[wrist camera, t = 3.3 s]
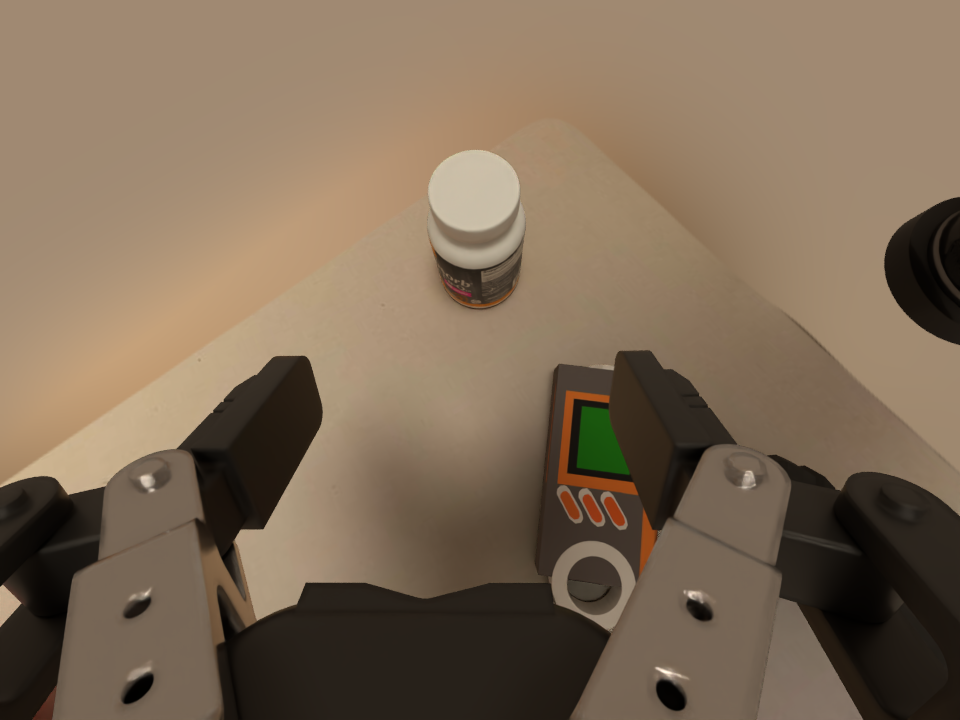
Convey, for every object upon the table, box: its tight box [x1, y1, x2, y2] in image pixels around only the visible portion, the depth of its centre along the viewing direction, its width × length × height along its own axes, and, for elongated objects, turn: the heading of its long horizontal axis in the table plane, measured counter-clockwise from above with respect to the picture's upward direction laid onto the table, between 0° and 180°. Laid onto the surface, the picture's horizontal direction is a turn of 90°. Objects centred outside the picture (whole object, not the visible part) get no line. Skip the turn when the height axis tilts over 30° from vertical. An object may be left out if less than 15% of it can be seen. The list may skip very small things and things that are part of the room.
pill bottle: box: [427, 150, 526, 308], centre depth 26 cm, size 6×6×10 cm
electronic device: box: [535, 364, 658, 630], centre depth 25 cm, size 7×3×15 cm
